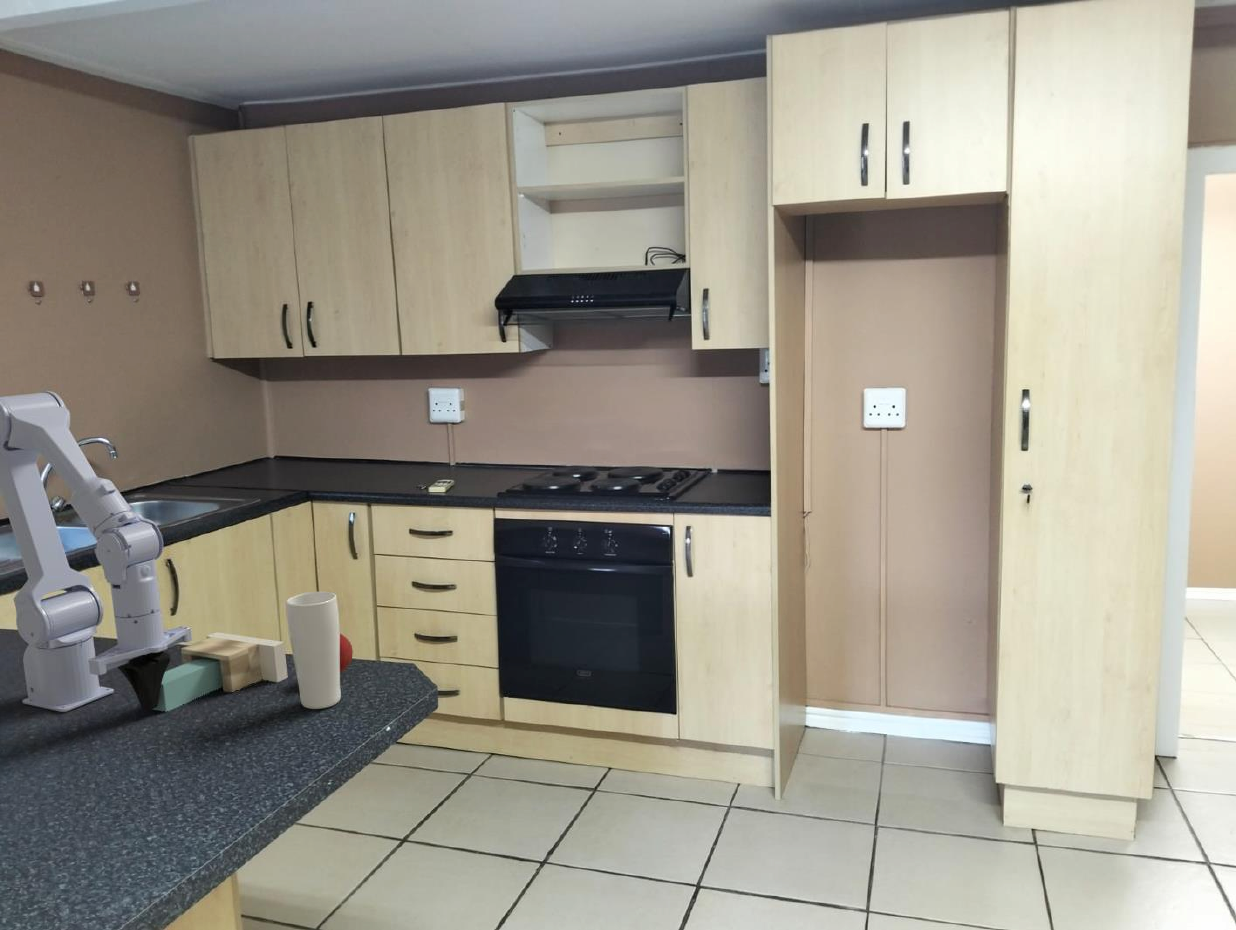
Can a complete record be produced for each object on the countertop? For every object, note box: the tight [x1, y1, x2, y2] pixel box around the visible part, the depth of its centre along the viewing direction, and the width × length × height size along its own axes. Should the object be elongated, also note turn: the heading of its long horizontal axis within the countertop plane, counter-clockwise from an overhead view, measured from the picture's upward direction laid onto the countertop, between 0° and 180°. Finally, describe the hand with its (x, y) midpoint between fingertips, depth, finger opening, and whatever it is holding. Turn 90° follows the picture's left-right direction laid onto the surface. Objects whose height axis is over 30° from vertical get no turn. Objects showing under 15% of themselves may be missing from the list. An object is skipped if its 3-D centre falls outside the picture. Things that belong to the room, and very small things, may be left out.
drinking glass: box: [285, 591, 342, 710], centre depth 136 cm, size 7×7×15 cm
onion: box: [340, 633, 354, 675], centre depth 146 cm, size 6×6×8 cm
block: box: [180, 637, 263, 693], centre depth 147 cm, size 10×6×6 cm, turn 63°
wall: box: [205, 631, 289, 683], centre depth 150 cm, size 14×2×6 cm, turn 63°
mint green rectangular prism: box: [153, 657, 223, 713], centre depth 142 cm, size 4×12×4 cm, turn 153°
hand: (149, 707), depth 136 cm, fingers closed
